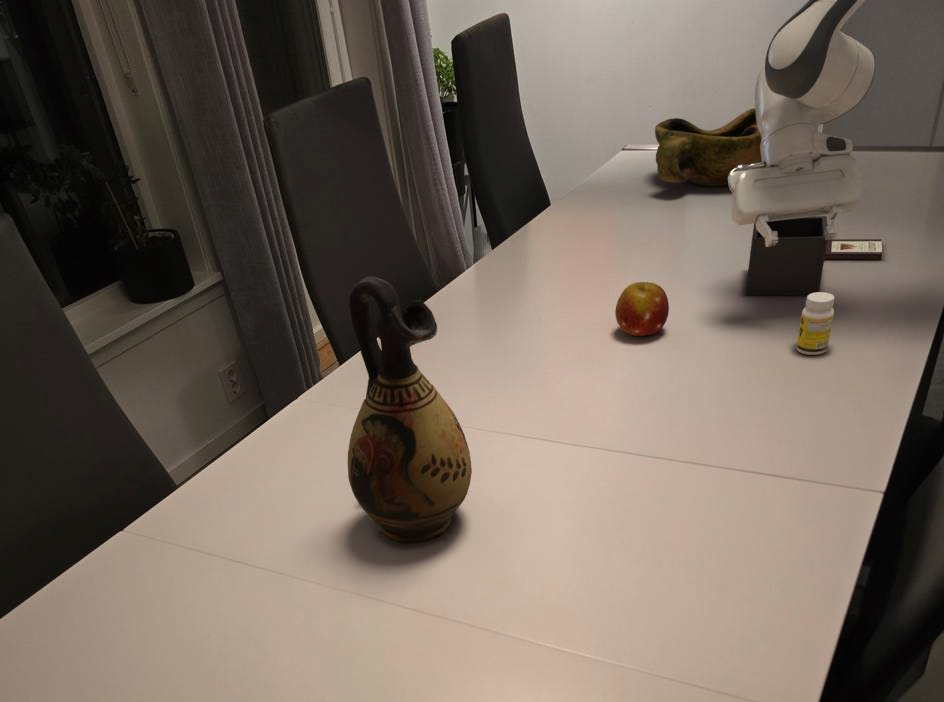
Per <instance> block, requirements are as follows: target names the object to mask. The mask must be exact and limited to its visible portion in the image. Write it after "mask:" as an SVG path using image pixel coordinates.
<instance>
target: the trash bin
mask: <svg viewBox="0 0 944 702" xmlns="http://www.w3.org/2000/svg"><path fill="white" fill-rule="evenodd" d="M767 225H768V226H769V227H770V229H771V230H772V231H777V233H778V235H777V237H778V243H777V244H776V246H771V247H766V244H765V238H764V237H763V236H762V235H761V234H760V233H759V231H758V230H757V229H756V223H754V224H753V229H752V235H751V243H750V252H749V261H748V269H747V277H746V286H745V296H808V295H809V294H811V293H816V292H820V288H821V283H822V282H821V281H822V277H823V270H824V266H825V265H824V264H825V260H826V259H825V254H826V248H827V242H828V240H825V239H824V237H825V235H824V229H825V228H826V226H827V225H828V215H821V216H813V217H804V218H796V219H787V220H779V221H771V222H767Z"/></svg>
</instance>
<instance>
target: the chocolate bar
mask: <svg viewBox="0 0 944 702" xmlns="http://www.w3.org/2000/svg"><path fill="white" fill-rule="evenodd" d="M882 256H883V245H882V239H881V238H852V239H851V238H850V239H848V238H847V239H846V238H845V239H843V238H842V239H841V238H839V239H838V238H837V239H836V238H835V239H831V240H828V242H827V248H826V254H825V259H824V260H882Z"/></svg>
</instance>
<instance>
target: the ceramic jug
mask: <svg viewBox="0 0 944 702" xmlns="http://www.w3.org/2000/svg"><path fill="white" fill-rule="evenodd" d="M348 298H349V299H348V300H349V302H348V304H349V305H348V306H349V311H350V312H349V313H350V317H351V324H352V327H353V331H354V334H355V338H356V339H357V343H358V347H359V351H360V355H361V358H362V360H363V363H364V367H365V370H366V373H367V375H368V379H367V380H368V381H367V386H366V393H365V398H364V400H363V401H362V403H361V405H360V408H359V411H358V414H357V416H356V419H355V421H354V423H353V426H352V430H351V434H350V438H349V443H348V451H347V477H348V478H347V479H348V482H349V485H350V489H351V492H352V494H353V496H354V498H355V499H356V501H357V503H358V505H359V506H360V507H361V509H362V510H363V511H364V512H365V514H366V515H368V516H369V517H370V518H371V519H372V520H374V521H375V522H376V523H378V524H379V527H380V529H381V531H382V533H383V534H385V535H386V536H387V537H388V538H390V539H391V540H394V541H395V542H396V543H399V544H402V545H407V544H414V543H419V542H420V543H421V542H423V543H425V542H429V541H431V540H434V539H438V538H440V537H441V536H443V534H444V532H445V531H447V529H448V528H449V527H450V526H451V523H452V519H451V518H452V516H453V515H454V514H455V513H456V511H457V510H458V509H459V507H461V505H462V504H463V502H464V501H465V499H466V497H467V495H468V492H469V488H470V486H471V478H472V473H473V469H472V460H471V459H472V458H471V451H470V449H469V445H468V442H467V438H466V435H465V433H464V430H463V428H462V426H461V424H460V421H459V420H458V418H457V416H456V414H455V412H454V410H452V408H451V407H450V405H449V404H448V403H447V402H446V400H445V399H444V397H443V396H442V395H441V394H440V392H439V391H438V390H437V388H436V387H435V386H434V385H433V384H432V383H431V382H430V380H429V379H428V378H427V377H426V376H425V375H424V374H423V373H422V372H421V370H420V368H419V367H418V365H416V363H414V360H413V358H412V351H411V347H412V346H415V345H416V344H420V343H423V342H426V341H430V340H432V339H433V338H434V337H436V335H437V333H438V324H437V321H436V319H435V316H434V314H433V311H432V310H431V309H430V308H429V306H428V305H427V304H426V303H425V302H424V301H422V300H421V299H418V300H417V299H416V300H414V301H413V302H412V303H410V304H409V305H408V306H406V307H405V308H404V309H402V307H401V299H400V297H399V295H398V294H397V292H396V290H395V288H394V287H393V285H392V284H390V283H389V282H388V281H387V280H385V279H383V278H379V277H376V276H374V275H373V276H372V275H370V276H366V277H364V278H362V279H361V280H359V281H357V282H356V283H355V284H354V286H352V289H351V291H350V294H349V297H348ZM370 299H374V302H375V303H376V305H377V308H378V311H379V314H380V318H379V320H378V322H377V324H376V326H375V325H374V321H373V319H372V316H371V312H370V309H371V303H370ZM378 339H379V340H380V345H379V342H378V341H379V340H378Z"/></svg>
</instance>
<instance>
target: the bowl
mask: <svg viewBox="0 0 944 702" xmlns="http://www.w3.org/2000/svg"><path fill="white" fill-rule="evenodd" d="M654 134H655V139H656V141H657V143H658V146H657V150H656V153H655V162H656V165H657V167H656V168H657V169H656V172H657V174H658V177H659V179H660V180H662V181H663V182H666V183H684V182H686V181H687V180H690V181H691V182H692V183H693V184H697V185H702V186H711V187H715V186H722V187H723V186H729V183H728V175H729V173H730V172H731V171H732V170H733V169H735V168H736V166H738V165H749V164H753V163H759V162H762V159H761V151H760V144H761V134H760V132H759V130H758V127H757V120H756V110H755V107H754V108H749V109H747V110H746V111H744V112H742V113H740V114H739V115H738V116H737V117H735V118H734V119H733V120H730V122H728V123H726V124H725V125H722V126H721V127H719V128H716V129H711V130H707V129H703V128H700V127H698V126H697V125H695V124H694V123H692V122H691V121H689V120H686V119H683V118H679V117H674V118H668V119H665V120H663V121H660V122H658V123H657V124H656V125H655V128H654ZM735 172H736V171H735Z"/></svg>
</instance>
